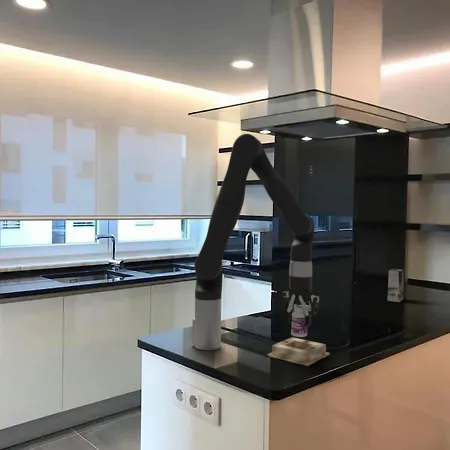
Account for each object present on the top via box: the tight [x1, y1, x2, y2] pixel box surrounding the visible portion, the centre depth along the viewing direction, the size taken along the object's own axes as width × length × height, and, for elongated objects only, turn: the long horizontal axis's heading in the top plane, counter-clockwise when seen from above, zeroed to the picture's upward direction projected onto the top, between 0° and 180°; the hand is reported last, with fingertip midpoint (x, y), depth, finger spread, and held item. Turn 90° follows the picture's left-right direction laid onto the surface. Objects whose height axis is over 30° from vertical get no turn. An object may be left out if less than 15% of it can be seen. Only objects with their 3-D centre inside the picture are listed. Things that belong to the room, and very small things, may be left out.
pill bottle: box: [290, 304, 308, 338], centre depth 164 cm, size 5×5×10 cm
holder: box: [267, 336, 331, 367], centre depth 164 cm, size 15×15×4 cm
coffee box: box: [387, 268, 405, 303], centre depth 260 cm, size 9×6×16 cm
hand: (299, 324), depth 164 cm, fingers closed on pill bottle, 5 cm apart
